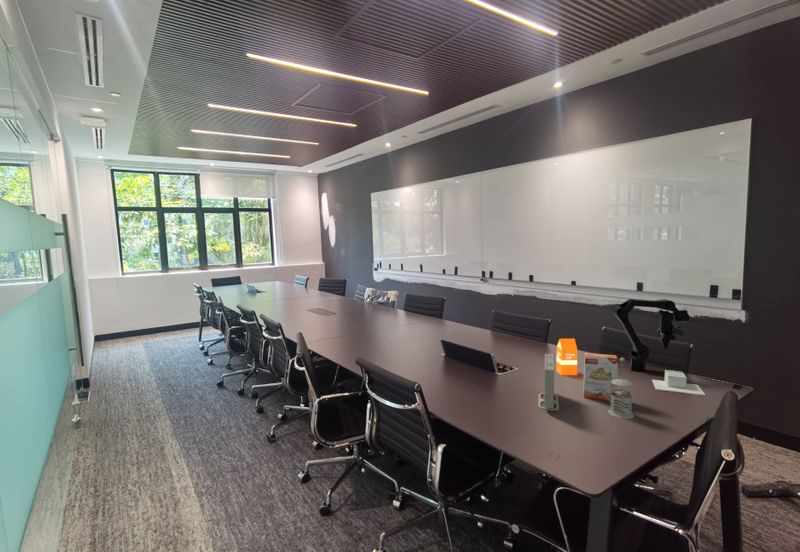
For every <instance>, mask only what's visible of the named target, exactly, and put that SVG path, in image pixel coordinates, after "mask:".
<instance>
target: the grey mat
mask: <svg viewBox="0 0 800 552" xmlns="http://www.w3.org/2000/svg"><path fill="white" fill-rule="evenodd" d="M651 382H652V384H653V386H654V388H655V390H656V391H661V390H662V391H661V392H670V393H671V392H672V393H679V394H688V395H695V396H702V397H705V396H706V394H705V392H704V391H703V390H702V388H701V387H700V385H698V384H694V383H687V384H686V388H679V387H671V386H668V385H667V384H666V382H665V380H658V379H651Z"/></svg>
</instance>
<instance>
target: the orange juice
mask: <svg viewBox="0 0 800 552" xmlns="http://www.w3.org/2000/svg"><path fill="white" fill-rule="evenodd" d="M555 370H556V372H557V373H558V374H560V375H561V376H577V375H578V347H577V343H576V339H575V338H559V340H558V342H557V345H556V369H555Z"/></svg>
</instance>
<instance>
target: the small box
mask: <svg viewBox="0 0 800 552" xmlns="http://www.w3.org/2000/svg"><path fill="white" fill-rule="evenodd" d="M663 381H665V382H666V384H667V385H668V386H671V387H679V388H686V384H688V383H687V382H688V378H687V376H686V374H685V373H684V372H683V371H677V370H670V369H669V370H668V369H665V370H664V380H663Z"/></svg>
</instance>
